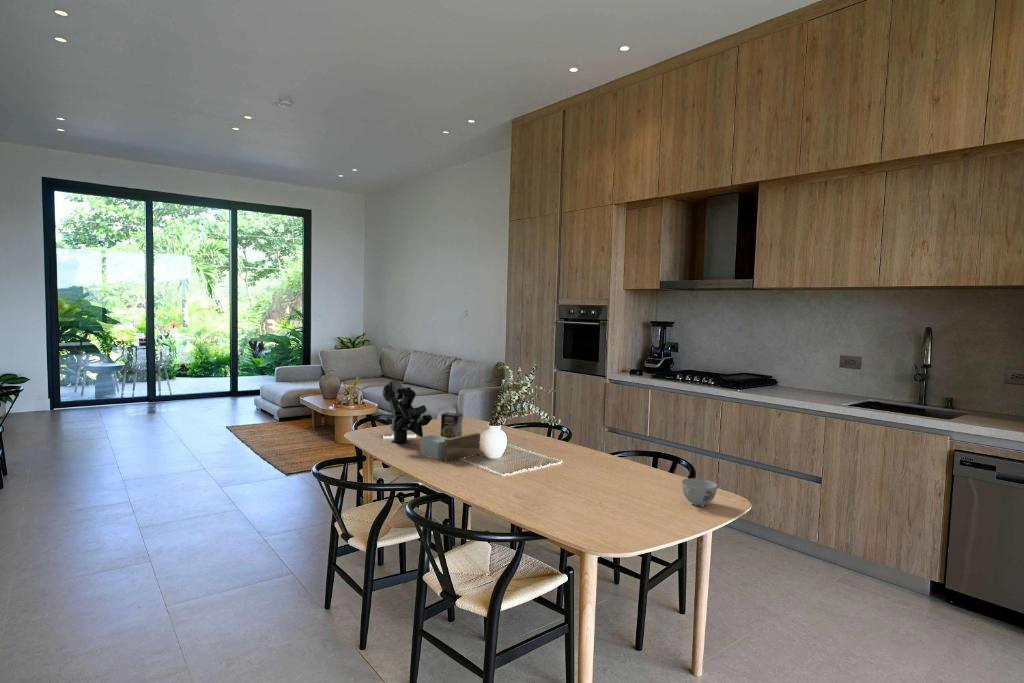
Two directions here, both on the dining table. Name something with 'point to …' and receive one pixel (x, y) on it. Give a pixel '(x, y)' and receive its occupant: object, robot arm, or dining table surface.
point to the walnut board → (461, 447)
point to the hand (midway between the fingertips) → (421, 436)
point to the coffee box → (451, 425)
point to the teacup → (699, 490)
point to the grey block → (432, 446)
